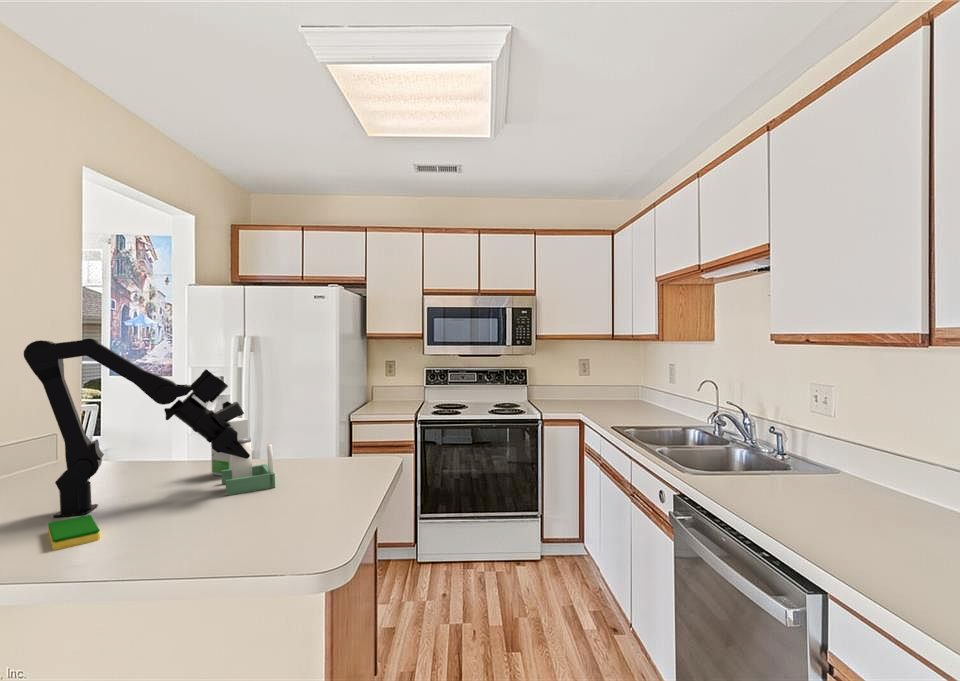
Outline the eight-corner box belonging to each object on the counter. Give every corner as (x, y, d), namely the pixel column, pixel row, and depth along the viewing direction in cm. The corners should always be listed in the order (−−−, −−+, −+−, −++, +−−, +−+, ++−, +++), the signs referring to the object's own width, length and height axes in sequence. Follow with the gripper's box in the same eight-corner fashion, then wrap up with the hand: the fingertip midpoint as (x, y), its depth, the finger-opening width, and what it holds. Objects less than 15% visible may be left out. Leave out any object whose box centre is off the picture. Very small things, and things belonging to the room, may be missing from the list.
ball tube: (251, 483, 139) (249, 439, 139) (230, 485, 138) (229, 441, 138) (253, 478, 144) (252, 436, 144) (234, 480, 143) (232, 438, 143)
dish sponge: (53, 552, 100) (52, 539, 100) (48, 534, 111) (47, 522, 111) (100, 542, 105) (99, 529, 105) (91, 525, 115) (90, 513, 115)
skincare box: (211, 475, 155) (208, 420, 155) (231, 469, 161) (229, 416, 161) (231, 477, 151) (228, 421, 151) (251, 471, 157) (248, 417, 157)
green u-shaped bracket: (226, 495, 133) (224, 452, 133) (221, 483, 145) (220, 443, 145) (275, 487, 139) (273, 446, 139) (266, 476, 150) (265, 438, 150)
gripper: (225, 395, 131) (276, 435, 136) (219, 390, 147) (264, 426, 153) (189, 431, 127) (243, 472, 132) (186, 422, 143) (234, 458, 149)
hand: (247, 455), depth 142 cm, fingers closed on ball tube, 5 cm apart
